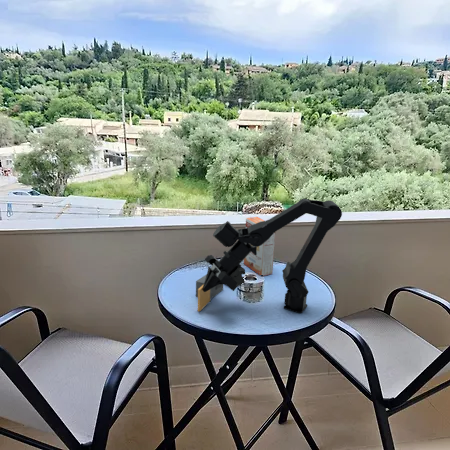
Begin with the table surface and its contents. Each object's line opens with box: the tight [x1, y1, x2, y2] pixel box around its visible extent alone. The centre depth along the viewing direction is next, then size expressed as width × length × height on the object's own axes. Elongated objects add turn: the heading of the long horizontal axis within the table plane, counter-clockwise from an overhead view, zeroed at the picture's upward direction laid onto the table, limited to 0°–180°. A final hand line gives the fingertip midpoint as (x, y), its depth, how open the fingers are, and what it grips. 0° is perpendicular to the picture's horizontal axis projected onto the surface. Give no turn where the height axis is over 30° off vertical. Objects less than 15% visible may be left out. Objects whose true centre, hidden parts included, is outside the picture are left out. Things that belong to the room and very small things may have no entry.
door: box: [197, 284, 212, 312], centre depth 144 cm, size 9×1×8 cm, turn 157°
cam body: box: [195, 273, 224, 299], centre depth 154 cm, size 6×10×7 cm, turn 150°
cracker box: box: [243, 216, 276, 277], centre depth 174 cm, size 14×6×21 cm, turn 28°
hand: (203, 290), depth 141 cm, fingers closed
